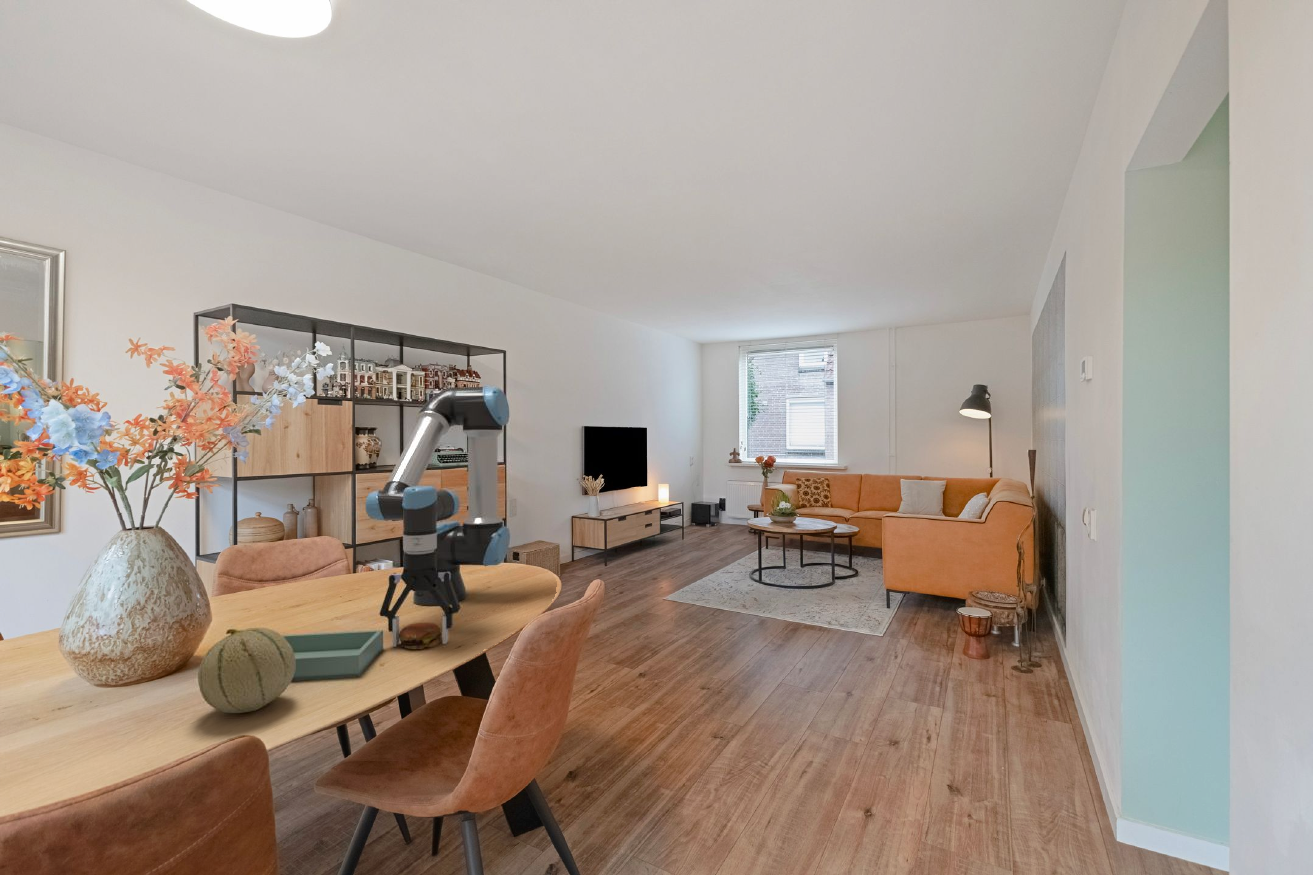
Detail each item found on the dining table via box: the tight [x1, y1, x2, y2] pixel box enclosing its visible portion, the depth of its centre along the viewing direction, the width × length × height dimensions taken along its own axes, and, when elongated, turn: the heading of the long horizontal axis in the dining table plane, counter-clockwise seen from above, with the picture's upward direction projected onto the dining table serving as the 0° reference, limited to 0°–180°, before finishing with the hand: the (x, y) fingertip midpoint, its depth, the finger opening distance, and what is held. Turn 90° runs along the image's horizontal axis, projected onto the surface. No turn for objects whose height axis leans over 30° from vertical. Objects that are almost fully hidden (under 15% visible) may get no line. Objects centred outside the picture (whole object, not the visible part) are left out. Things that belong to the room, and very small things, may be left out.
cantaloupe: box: [197, 627, 296, 714], centre depth 108 cm, size 15×15×15 cm
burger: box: [399, 622, 443, 650], centre depth 141 cm, size 10×9×5 cm
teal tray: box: [281, 629, 384, 682], centre depth 128 cm, size 16×24×4 cm, turn 98°
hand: (420, 643), depth 141 cm, fingers open, 11 cm apart
